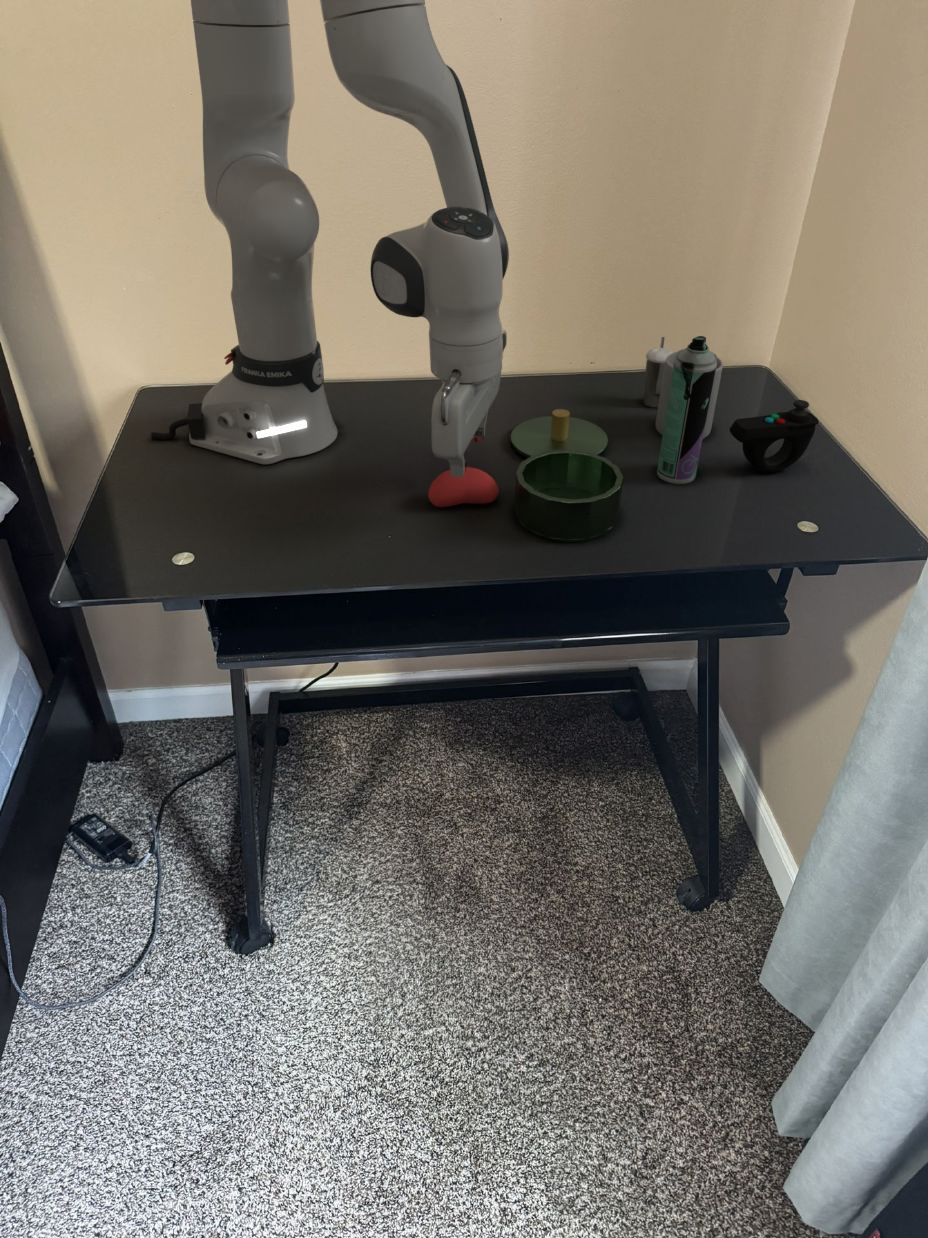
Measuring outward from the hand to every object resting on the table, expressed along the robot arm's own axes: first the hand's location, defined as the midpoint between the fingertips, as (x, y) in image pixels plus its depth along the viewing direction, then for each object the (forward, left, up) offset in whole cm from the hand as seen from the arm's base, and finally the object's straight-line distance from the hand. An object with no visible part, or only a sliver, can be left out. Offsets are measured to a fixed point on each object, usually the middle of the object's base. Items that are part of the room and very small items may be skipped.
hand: (468, 456), depth 116 cm
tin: (+13, +1, -7) cm, 15 cm away
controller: (+38, +21, -7) cm, 44 cm away
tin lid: (+8, +20, -6) cm, 22 cm away
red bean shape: (-1, 0, -7) cm, 7 cm away
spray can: (+26, +16, -7) cm, 32 cm away
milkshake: (+20, +39, -7) cm, 44 cm away
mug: (+26, +29, -7) cm, 40 cm away
